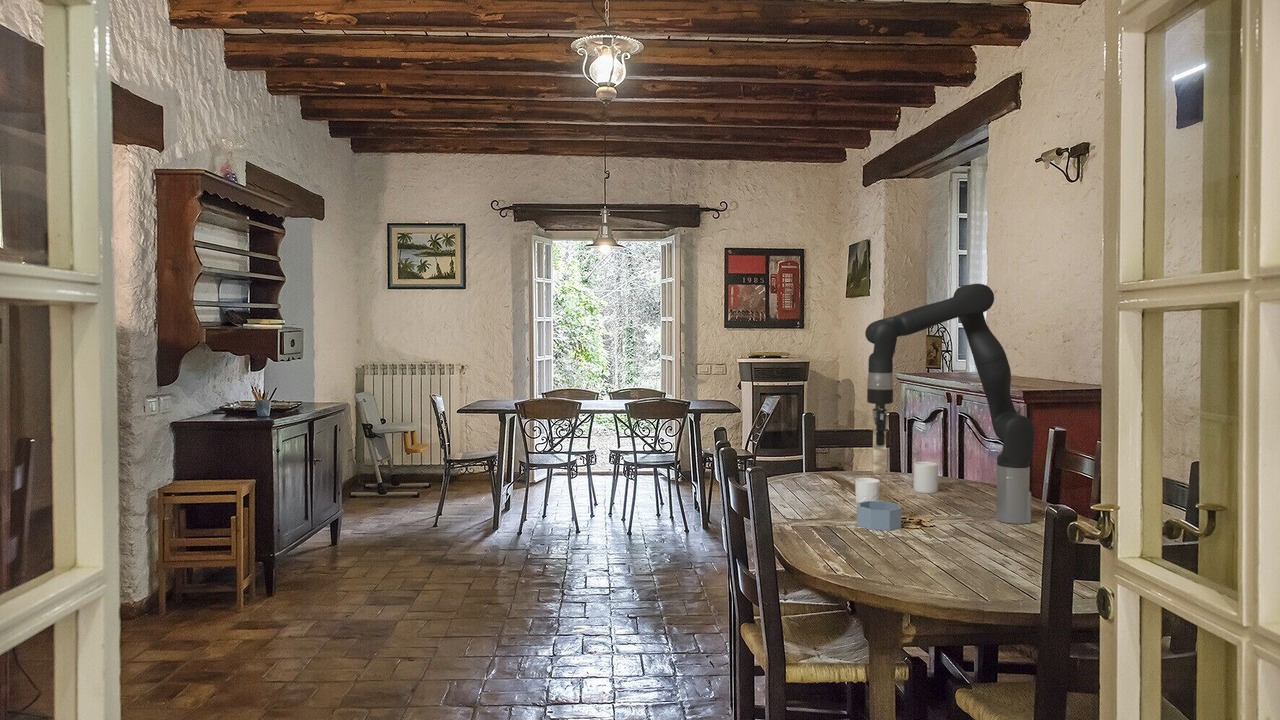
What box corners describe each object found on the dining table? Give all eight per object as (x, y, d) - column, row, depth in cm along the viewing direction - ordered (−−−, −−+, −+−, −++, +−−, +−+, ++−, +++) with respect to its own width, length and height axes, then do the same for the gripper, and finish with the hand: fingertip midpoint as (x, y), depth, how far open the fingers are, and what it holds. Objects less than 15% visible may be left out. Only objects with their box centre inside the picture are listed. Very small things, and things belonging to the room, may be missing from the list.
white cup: (852, 511, 260) (852, 481, 260) (857, 506, 267) (857, 477, 267) (876, 514, 257) (877, 483, 256) (881, 509, 264) (882, 479, 263)
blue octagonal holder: (897, 520, 248) (898, 501, 247) (902, 531, 235) (902, 511, 235) (855, 519, 250) (856, 500, 250) (858, 529, 238) (858, 509, 238)
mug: (912, 486, 298) (912, 459, 298) (935, 487, 296) (936, 460, 295) (914, 493, 287) (914, 465, 286) (938, 494, 284) (939, 466, 284)
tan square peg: (884, 471, 243) (885, 422, 243) (885, 473, 240) (886, 423, 239) (872, 470, 244) (873, 422, 243) (873, 472, 241) (874, 423, 240)
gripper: (895, 389, 233) (894, 448, 234) (890, 385, 247) (889, 440, 248) (869, 389, 235) (868, 447, 236) (865, 385, 248) (864, 440, 249)
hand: (879, 443), depth 242 cm, fingers closed on tan square peg, 3 cm apart
